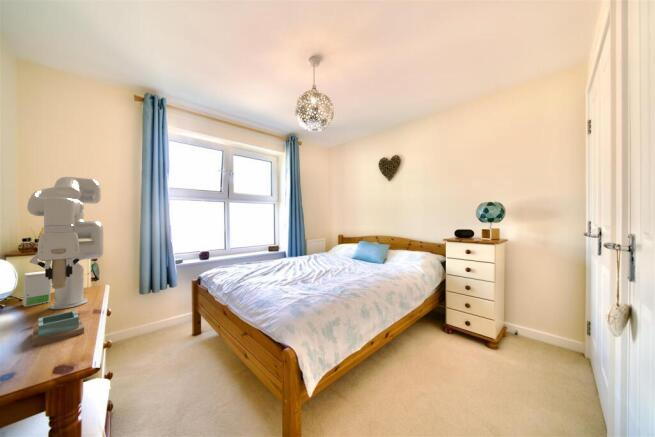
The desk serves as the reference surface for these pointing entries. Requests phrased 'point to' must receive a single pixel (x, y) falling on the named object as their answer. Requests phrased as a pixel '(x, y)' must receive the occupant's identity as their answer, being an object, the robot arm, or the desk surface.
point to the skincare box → (36, 288)
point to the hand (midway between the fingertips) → (59, 277)
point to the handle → (58, 270)
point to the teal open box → (57, 327)
